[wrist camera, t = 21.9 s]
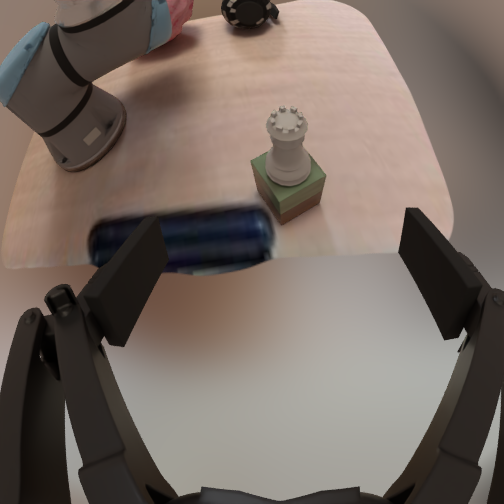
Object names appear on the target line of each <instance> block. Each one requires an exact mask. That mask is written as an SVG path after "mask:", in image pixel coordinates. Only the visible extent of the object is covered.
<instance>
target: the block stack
mask: <svg viewBox="0 0 504 504" xmlns="http://www.w3.org/2000/svg"><path fill="white" fill-rule="evenodd" d="M268 152H269V151H268ZM268 152H266V153H264V154H262V155H260V156H259V157H257V158H255V159H253V160H251V165H252V169H253V173H254V177H255V181H256V186H257V190H258V192H259V193H260V194H261V196H262V197H263V199H264V200H265V202H266V203H267V205H268V206H269V208H270V209H271V211H272V212H273V214H274V215H275V217H276V218H277V220H278V221H279V223H280V224H281V225H283V224H285V223H286V222H288V221H290V220H291V219H293V218H295V217H297V216H298V215H300V214H302V213H303V212H305V211H307V210H308V209H310V208H312V207H313V206H315V205H317V204H319V203H320V200H321V195H322V191H323V187H324V183H325V179H326V174H325V173H324V172H323V171H322V169H321V168H320V167H319V165H318V164H317V163H316V162H315V160H314V159H313V158H312V157H311V156H310V154H309V153H308V154H309V157H310V159H311V170H310V173H309V175H308V177H307V178H306V179H305V180H304V181H302V182H301V183H300V184H297V185H292V186H286V185H280V184H278V183H276V182H274V181H273V180H272V179H271V178H270V177H269V176H268V175H267V171H266V168H265V166H266V164H265V161H266V155H267V153H268Z"/></svg>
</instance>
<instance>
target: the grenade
mask: <svg viewBox="0 0 504 504" xmlns="http://www.w3.org/2000/svg"><path fill="white" fill-rule="evenodd" d="M221 10H222V15H223V16H224V18H225V20H226V21H227V22H229V23H230V24H231V25H233V26H235V27H238V28H243V29H249V28H254V27H257V26H260V25H261V24H263V23H264V22H265V21H266V20H267V19H268V18H269V16H270V14H271V15H272V16H273V17H274V18H275V19H277V17H278V14H279V11H278V9H277V7H276V6H275V5H274V4H272V3H271V2H270V0H223V2H222V6H221Z"/></svg>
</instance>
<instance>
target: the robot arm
mask: <svg viewBox="0 0 504 504" xmlns="http://www.w3.org/2000/svg"><path fill="white" fill-rule="evenodd" d="M54 1H55V2H56V3H57V4H58V8H57V10H56V13H55V22H56V24H55V25H53V26H52V27H50V25H49V23H46V22H41V23H40V24H39V25H37V26H35V27H34V28H33V29H31V30H30V31H29V32H28V33H27V34H26V35H25V36H24V37H23V38H22V39H21V40H20V41H19V42H18V43H17V44H16V46H15V47H14V48H13V49H12V50H11V52H10V53H9V54H8V55H7V57H6V58H5V60H4V61H3V63H2V64H1V66H0V102H1V103H2V104H3V106H4V107H7V108H8V109H9V110H10V111H11V112H13V113H14V114H15V115H16V116H17V117H18V118H20V119H21V120H22V121H23V122H24V123H26V124H27V125H28V126H29V127H30V128H31V129H33V130H34V131H35V132H36V133H38V134H39V135H40V136H41V137H42V138H43V139H44V141H45V143H46V145H47V147H48V149H49V151H50V153H51V155H52V157H53V158H54V160H55V161H56V163H57V164H58V165H59V166H61V167H62V168H63V169H65V170H67V171H71V172H75V171H80V170H83V169H85V168H87V167H89V166H91V165H93V164H94V163H96V162H97V161H98V160H100V159H101V158H102V157H103V156H104V155H105V154H106V153H107V152H108V151H109V150H110V149H111V148H112V146H113V145H114V144H115V142H116V141H117V139H118V138H119V136H120V134H121V132H122V130H123V128H124V125H125V121H126V111H125V108H124V106H123V105H122V103H121V102H120V101H119V100H118V99H117V98H116V97H115V96H113V95H111V94H109V93H108V92H106V91H104V90H102V89H100V88H98V87H97V86H95V85H93V84H92V82H93V81H94V80H96V79H98V78H100V77H101V76H103V75H105V74H107V73H109V72H110V71H112V70H114V69H116V68H118V67H120V66H122V65H124V64H126V63H128V62H130V61H132V60H134V59H136V58H138V57H140V56H142V55H146V54H148V53H149V52H150V51H151V50H153V49H155V48H157V47H159V46H161V45H163V44H165V43H166V42H167V41H168V40H169V39H170V37H171V35H172V23H171V17H170V12H169V8H168V4H167V1H166V0H54ZM398 253H399V254H400V256H401V258H402V259H403V261H404V263H405V265H406V266H407V268H408V270H409V272H410V273H411V275H412V277H413V279H414V281H415V282H416V284H417V286H418V288H419V290H420V292H421V294H422V296H423V298H424V299H425V301H426V303H427V305H428V307H429V309H430V311H431V313H432V315H433V317H434V319H435V321H436V323H437V326H438V328H439V330H440V332H441V334H442V336H443V339H444V340H449V339H454V338H458V337H459V336H460V334H461V332H462V330H463V328H465V330H466V332H467V335H466V337H465V339H464V341H463V343H462V344H461V346H460V348H459V350H458V352H460V354H459V357H458V360H457V363H456V366H455V368H454V371H453V373H452V376H451V379H450V381H449V384H448V386H447V389H446V391H445V394H444V396H443V398H442V401H441V403H440V405H439V407H438V409H437V411H436V413H435V415H434V418H433V420H432V422H431V424H430V426H429V428H428V430H427V432H426V433H425V435H424V437H423V439H422V441H421V443H420V445H419V447H418V448H417V450H416V452H415V453H414V455H413V457H412V458H411V460H410V462H409V463H408V465H407V467H406V468H405V470H404V471H403V473H402V474H401V475H400V477H399V478H398V479H397V480H396V481H395V482H394V483H393V484H392V486H391V487H390V488H389V489H388V491H387V492H386V493H385V494H384V496H383V497H380V496H377V495H374V494H369V493H363V492H360V487H352V488H345V489H336V490H325V491H319V492H316V493H312V494H309V495H305V496H301V497H297V498H293V499H289V500H285V501H276V500H271V499H267V498H263V497H260V496H256V495H252V494H249V493H245V492H242V491H236V490H224V489H216V488H208V487H201V492H198V493H191V494H187V495H183V496H180V497H178V495H177V494H176V492H175V491H174V489H173V488H172V487H171V486H170V484H169V483H168V482H167V481H166V480H165V479H164V477H163V476H162V475H161V473H160V471H159V470H158V468H157V466H156V465H155V463H154V461H153V459H152V457H151V456H150V454H149V452H148V450H147V448H146V446H145V445H144V442H143V440H142V438H141V436H140V434H139V432H138V430H137V428H136V426H135V424H134V422H133V420H132V417H131V416H130V413H129V411H128V409H127V407H126V404H125V402H124V399H123V397H122V395H121V392H120V390H119V387H118V385H117V382H116V380H115V377H114V375H113V372H112V369H111V366H110V363H109V361H108V358H107V355H106V352H105V349H104V347H103V345H102V344H101V341H102V339H103V337H104V336H105V338H106V340H107V341H108V343H109V345H113V346H121V347H124V346H125V344H126V342H127V340H128V338H129V336H130V334H131V332H132V329H133V328H134V325H135V324H136V322H137V319H138V318H139V316H140V314H141V312H142V309H143V308H144V306H145V304H146V302H147V300H148V298H149V296H150V294H151V292H152V290H153V288H154V286H155V284H156V282H157V281H158V279H159V277H160V275H161V273H162V271H163V269H164V268H165V266H166V264H167V262H168V260H169V258H168V254H167V251H166V247H165V243H164V239H163V235H162V231H161V227H160V223H159V219H158V216H157V217H145V218H144V220H143V221H142V222H141V223H140V224H139V225H138V227H137V228H136V229H135V230H134V231H133V233H132V234H131V235H130V236H129V237H128V239H127V240H126V241H125V242H124V243H123V245H122V246H121V247H120V248H119V250H118V251H117V252H116V253H115V254H114V256H113V257H112V258H111V260H110V261H109V262H108V263H107V264H105V265H103V266H102V267H101V268H99V269H98V270H97V271H96V273H95V274H94V275H93V276H92V278H91V279H90V280H89V281H88V284H86V286H85V287H84V288H83V289H82V291H81V292H80V293H79V295H78V296H77V298H76V297H75V295H74V293H73V291H72V289H71V287H70V285H68V284H61V285H58V286H56V287H54V288H53V289H51V290H50V291H49V292H48V293H47V294H46V296H45V299H44V301H45V303H46V304H47V306H48V308H49V310H50V312H51V313H52V315H47V316H43V314H42V312H41V310H40V309H39V308H31V309H28V310H27V311H26V312H24V314H23V315H22V316H21V318H20V319H19V322H18V325H17V328H16V332H15V335H14V338H13V341H12V345H11V348H10V352H9V356H8V360H7V364H6V368H5V373H4V377H3V382H2V386H1V392H0V504H71V498H70V490H69V482H68V473H67V462H66V447H65V401H66V405H67V410H68V414H69V418H70V421H71V425H72V429H73V432H74V436H75V439H76V443H77V446H78V449H79V452H80V455H81V458H82V461H83V467H81V468H80V469H79V471H78V475H79V479H80V482H81V485H82V487H83V490H84V493H85V495H86V497H87V500H88V502H89V504H468V502H469V500H470V499H471V496H472V494H473V492H474V490H475V488H476V486H477V484H478V482H479V479H480V476H481V471H482V470H481V469H482V468H481V467H480V466H478V461H479V458H480V455H481V452H482V450H483V447H484V445H485V441H486V439H487V436H488V433H489V430H490V427H491V424H492V420H493V417H494V414H495V410H496V406H497V403H498V399H499V395H500V390H501V415H500V430H499V439H498V448H497V455H496V461H495V468H494V473H493V478H492V483H491V487H490V491H489V495H488V500H487V504H504V291H502V290H500V289H496V288H494V289H492V288H491V287H490V285H489V284H488V283H487V281H486V280H485V279H484V277H483V276H482V275H481V273H480V272H478V269H477V268H476V267H475V266H474V265H473V263H472V262H471V261H470V260H469V258H468V257H466V256H465V255H463V254H462V253H461V252H457V251H456V250H455V249H454V248H453V246H452V245H451V244H450V243H449V241H448V240H447V239H446V238H445V237H444V236H443V234H442V233H441V232H440V231H439V230H438V229H437V228H436V227H435V225H434V224H433V223H432V222H431V221H430V220H429V219H428V218H427V217H426V216H425V215H424V213H423V212H422V211H421V210H420V209H419V208H406V210H405V217H404V223H403V229H402V235H401V241H400V246H399V251H398ZM40 356H41V358H40Z"/></svg>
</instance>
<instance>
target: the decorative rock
mask: <svg viewBox="0 0 504 504" xmlns="http://www.w3.org/2000/svg"><path fill="white" fill-rule="evenodd" d="M166 1H167V4H168V8H169V12H170V17H171V23H172V35H171V37H170V39H169V40H168V41H170V40H172V39H174V38H175V37H176V36H177V35H178V34H180V33H181V31H182V25H183V24H184V23H185V22H187V21H188V20H189V19H190V17H191V16H192V7H193V0H166ZM168 41H167V42H168Z"/></svg>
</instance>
